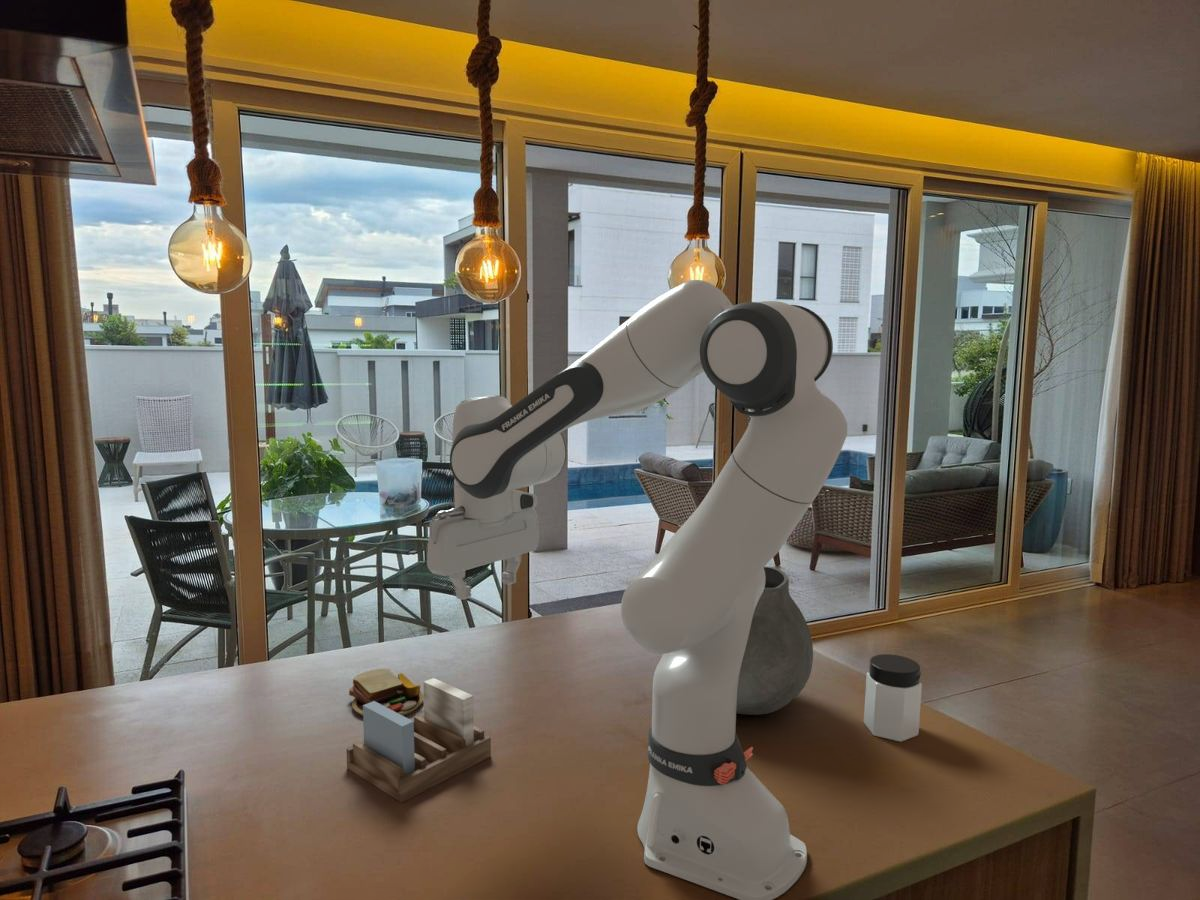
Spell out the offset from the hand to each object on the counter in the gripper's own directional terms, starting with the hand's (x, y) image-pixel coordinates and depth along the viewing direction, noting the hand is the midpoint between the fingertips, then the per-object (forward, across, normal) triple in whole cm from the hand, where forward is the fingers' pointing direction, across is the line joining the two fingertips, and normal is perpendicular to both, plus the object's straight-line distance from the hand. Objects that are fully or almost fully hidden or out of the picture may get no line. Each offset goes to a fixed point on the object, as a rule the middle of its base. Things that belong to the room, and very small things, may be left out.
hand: (487, 590), depth 121 cm
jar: (+29, +51, -45) cm, 74 cm away
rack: (+27, -8, +8) cm, 29 cm away
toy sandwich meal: (+27, 0, +29) cm, 40 cm away
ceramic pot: (+28, +43, -21) cm, 55 cm away
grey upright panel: (+26, -14, +8) cm, 30 cm away
